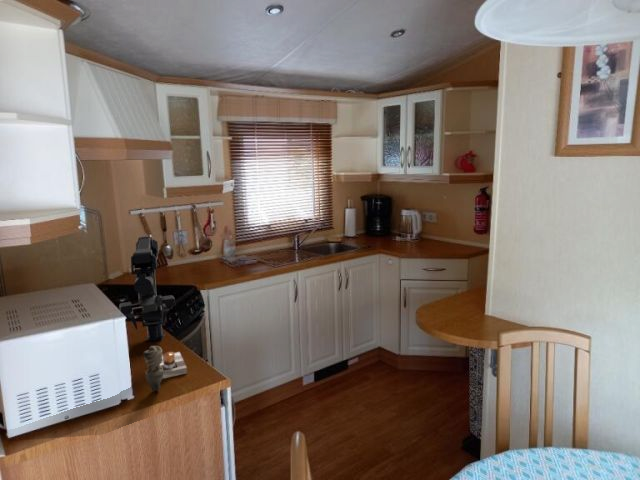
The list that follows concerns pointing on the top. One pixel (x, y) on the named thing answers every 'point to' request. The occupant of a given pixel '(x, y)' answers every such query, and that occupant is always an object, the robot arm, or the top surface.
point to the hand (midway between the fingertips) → (150, 326)
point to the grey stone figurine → (154, 367)
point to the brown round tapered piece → (169, 360)
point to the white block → (178, 364)
